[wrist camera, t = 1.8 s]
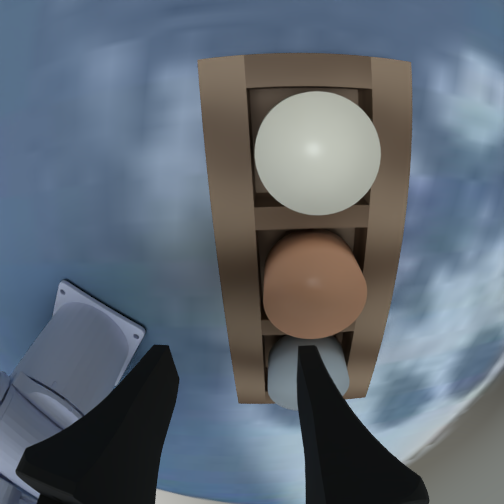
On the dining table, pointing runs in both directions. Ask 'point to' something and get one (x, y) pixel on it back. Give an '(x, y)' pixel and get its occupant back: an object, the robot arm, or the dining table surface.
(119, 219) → the dining table surface
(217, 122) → the button board
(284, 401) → the slate button
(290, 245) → the terracotta button
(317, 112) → the cream button
